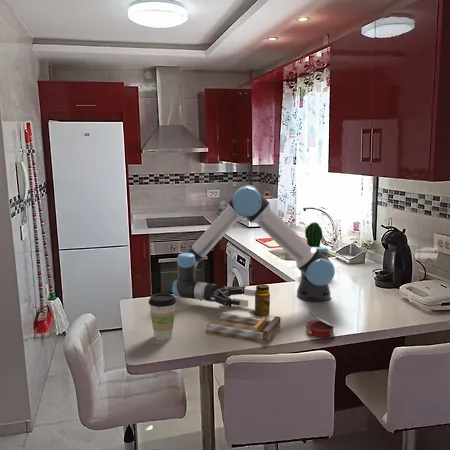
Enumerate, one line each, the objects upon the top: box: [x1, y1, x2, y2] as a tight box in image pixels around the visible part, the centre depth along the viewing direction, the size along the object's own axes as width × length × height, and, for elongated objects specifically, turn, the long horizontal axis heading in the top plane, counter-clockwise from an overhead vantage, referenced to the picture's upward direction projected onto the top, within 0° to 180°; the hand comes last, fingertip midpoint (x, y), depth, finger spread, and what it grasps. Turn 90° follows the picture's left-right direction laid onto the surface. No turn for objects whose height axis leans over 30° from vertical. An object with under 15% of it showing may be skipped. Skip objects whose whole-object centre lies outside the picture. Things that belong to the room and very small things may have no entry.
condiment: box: [247, 284, 273, 318], centre depth 183 cm, size 7×8×12 cm
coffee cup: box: [148, 292, 177, 341], centre depth 160 cm, size 10×10×15 cm
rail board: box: [205, 312, 282, 344], centre depth 167 cm, size 24×15×4 cm, turn 67°
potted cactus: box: [303, 221, 324, 247], centre depth 235 cm, size 15×15×30 cm
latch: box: [254, 317, 267, 332], centre depth 164 cm, size 1×10×3 cm, turn 157°
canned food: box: [305, 310, 335, 339], centre depth 165 cm, size 11×10×10 cm
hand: (253, 298), depth 184 cm, fingers open, 13 cm apart
